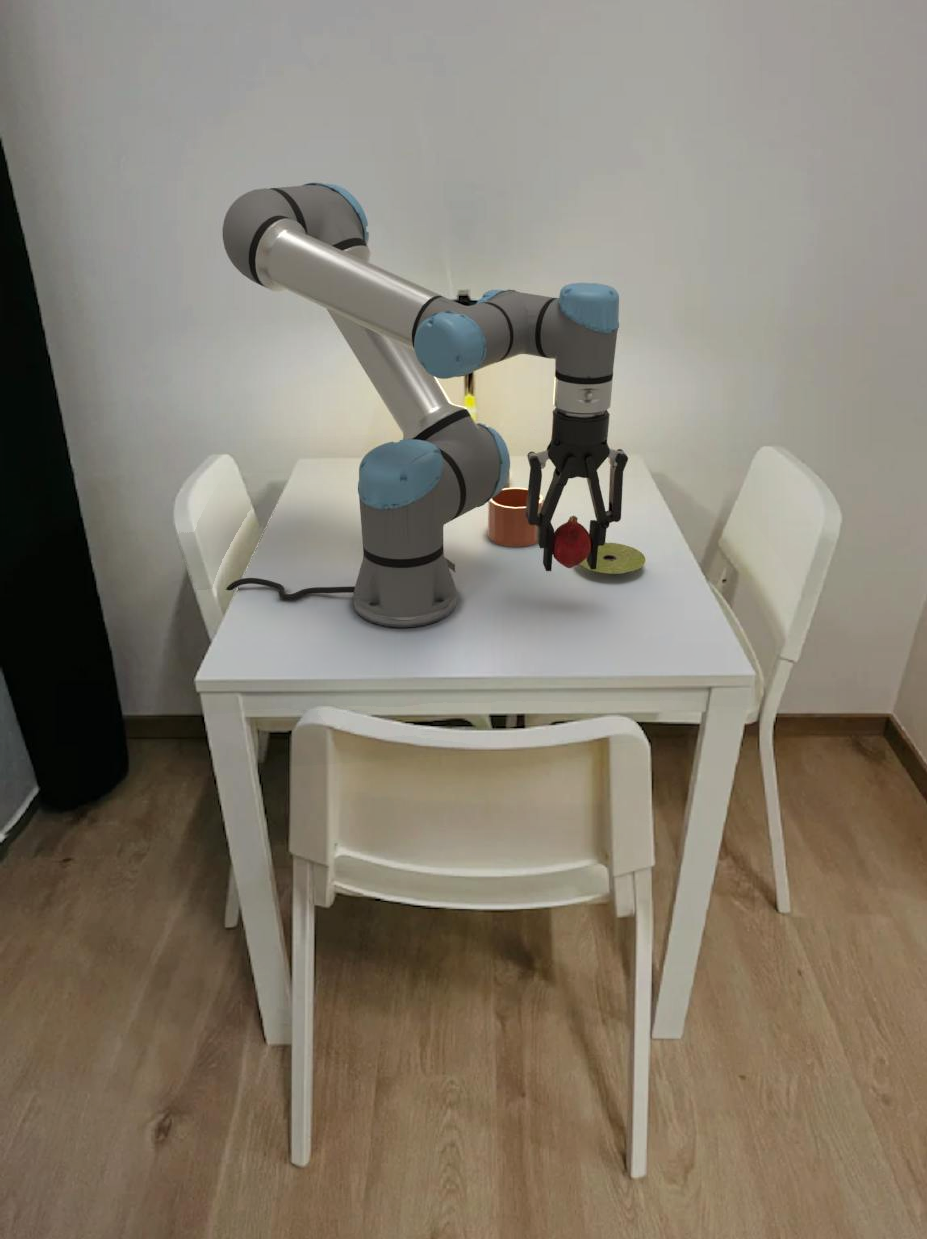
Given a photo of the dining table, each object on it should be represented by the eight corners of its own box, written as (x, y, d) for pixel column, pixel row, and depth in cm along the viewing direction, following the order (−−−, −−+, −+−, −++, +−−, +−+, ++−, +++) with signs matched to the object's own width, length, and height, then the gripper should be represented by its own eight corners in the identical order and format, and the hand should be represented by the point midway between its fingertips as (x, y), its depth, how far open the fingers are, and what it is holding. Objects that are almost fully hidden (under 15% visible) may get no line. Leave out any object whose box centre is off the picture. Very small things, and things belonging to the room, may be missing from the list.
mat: (640, 587, 140) (641, 576, 139) (567, 579, 143) (568, 567, 142) (647, 557, 150) (649, 546, 149) (579, 549, 152) (580, 538, 151)
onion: (587, 579, 129) (591, 527, 125) (546, 574, 130) (549, 523, 126) (590, 561, 134) (595, 510, 130) (551, 557, 135) (554, 507, 131)
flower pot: (491, 548, 153) (492, 509, 149) (484, 526, 161) (485, 488, 157) (546, 545, 154) (547, 507, 150) (536, 523, 162) (537, 486, 158)
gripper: (515, 419, 116) (508, 580, 128) (659, 416, 118) (639, 575, 130) (506, 402, 123) (501, 557, 134) (642, 399, 125) (625, 552, 136)
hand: (569, 565), depth 132 cm, fingers closed on onion, 6 cm apart
